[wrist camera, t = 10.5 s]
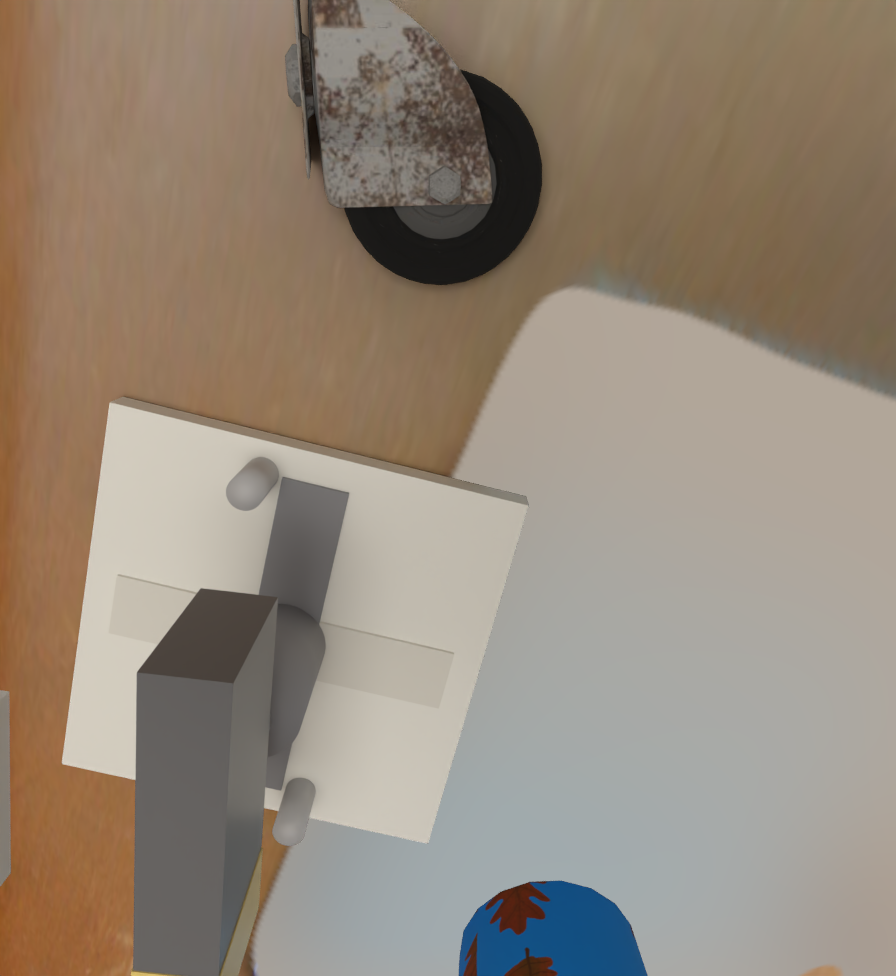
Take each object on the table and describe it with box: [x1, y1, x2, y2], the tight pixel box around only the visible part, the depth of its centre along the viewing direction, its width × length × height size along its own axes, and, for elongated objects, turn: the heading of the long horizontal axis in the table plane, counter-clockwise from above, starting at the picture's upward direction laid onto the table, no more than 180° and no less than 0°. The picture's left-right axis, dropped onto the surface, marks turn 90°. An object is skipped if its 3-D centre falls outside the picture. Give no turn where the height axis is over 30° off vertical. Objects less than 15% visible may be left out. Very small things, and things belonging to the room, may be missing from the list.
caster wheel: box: [285, 0, 542, 285], centre depth 32 cm, size 7×11×10 cm
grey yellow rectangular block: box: [131, 588, 278, 976], centre depth 29 cm, size 14×3×9 cm, turn 173°
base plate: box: [62, 397, 529, 846], centre depth 37 cm, size 20×20×8 cm
